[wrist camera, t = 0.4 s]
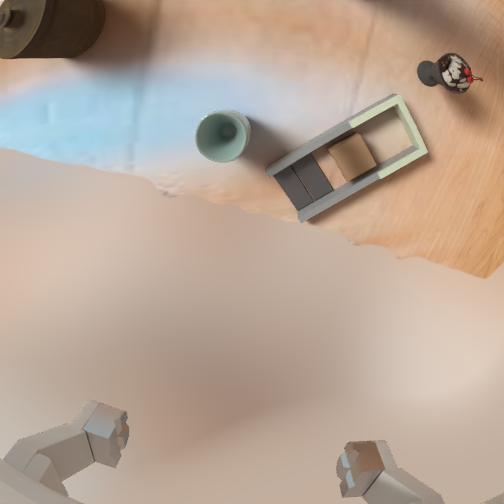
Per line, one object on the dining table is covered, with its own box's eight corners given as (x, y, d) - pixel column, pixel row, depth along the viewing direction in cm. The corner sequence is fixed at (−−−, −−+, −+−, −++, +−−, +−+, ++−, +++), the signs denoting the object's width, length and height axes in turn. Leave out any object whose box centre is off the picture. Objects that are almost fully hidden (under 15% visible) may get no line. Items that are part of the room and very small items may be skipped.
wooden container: (63, -5, 36) (-9, -17, 17) (115, -6, 37) (43, -30, 18) (43, 55, 43) (-32, 62, 24) (92, 61, 45) (13, 63, 26)
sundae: (448, 87, 41) (493, 92, 28) (419, 93, 43) (461, 98, 30) (437, 54, 38) (481, 49, 25) (408, 59, 40) (447, 53, 27)
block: (355, 131, 49) (360, 135, 45) (370, 160, 51) (376, 165, 47) (326, 147, 51) (329, 152, 47) (343, 175, 53) (347, 181, 50)
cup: (259, 114, 49) (253, 119, 40) (246, 155, 53) (239, 169, 44) (216, 103, 48) (201, 106, 40) (205, 143, 52) (189, 155, 44)
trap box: (392, 93, 44) (399, 94, 41) (420, 148, 48) (428, 152, 45) (266, 167, 54) (265, 172, 51) (300, 216, 58) (301, 224, 55)
